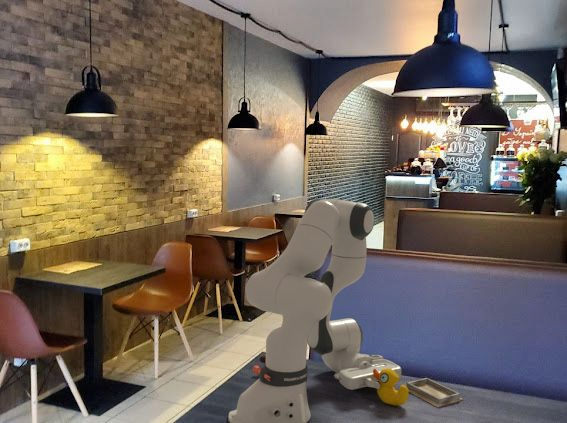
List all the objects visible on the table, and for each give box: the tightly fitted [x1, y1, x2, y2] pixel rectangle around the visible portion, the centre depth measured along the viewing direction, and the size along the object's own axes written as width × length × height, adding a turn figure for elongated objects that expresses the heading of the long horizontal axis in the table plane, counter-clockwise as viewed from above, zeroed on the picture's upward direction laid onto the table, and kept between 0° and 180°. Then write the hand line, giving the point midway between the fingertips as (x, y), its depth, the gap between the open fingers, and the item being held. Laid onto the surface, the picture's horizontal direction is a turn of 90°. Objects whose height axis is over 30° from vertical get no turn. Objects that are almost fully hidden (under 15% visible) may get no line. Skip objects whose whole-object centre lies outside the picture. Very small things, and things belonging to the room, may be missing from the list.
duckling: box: [373, 368, 410, 406], centre depth 162 cm, size 11×5×10 cm, turn 52°
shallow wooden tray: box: [405, 377, 464, 408], centre depth 169 cm, size 10×14×2 cm
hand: (387, 384), depth 163 cm, fingers closed on duckling, 4 cm apart
